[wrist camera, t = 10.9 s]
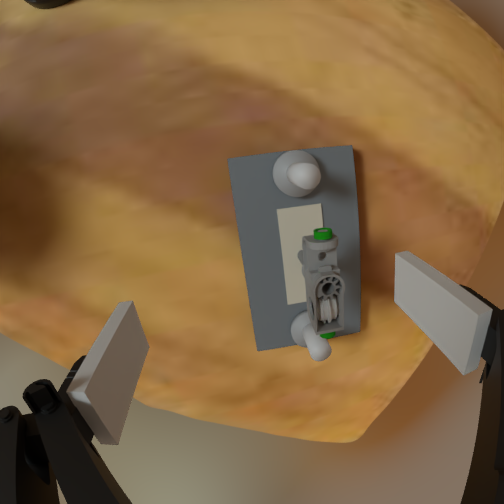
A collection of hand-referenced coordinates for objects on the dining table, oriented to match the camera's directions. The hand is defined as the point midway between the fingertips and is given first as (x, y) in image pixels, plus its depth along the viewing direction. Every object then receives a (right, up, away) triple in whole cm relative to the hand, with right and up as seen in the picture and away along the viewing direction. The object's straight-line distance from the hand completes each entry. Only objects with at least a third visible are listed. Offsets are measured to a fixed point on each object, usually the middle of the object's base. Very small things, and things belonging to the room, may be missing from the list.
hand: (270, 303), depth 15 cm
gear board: (+5, +3, +23) cm, 24 cm away
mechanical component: (+5, +2, +21) cm, 22 cm away
